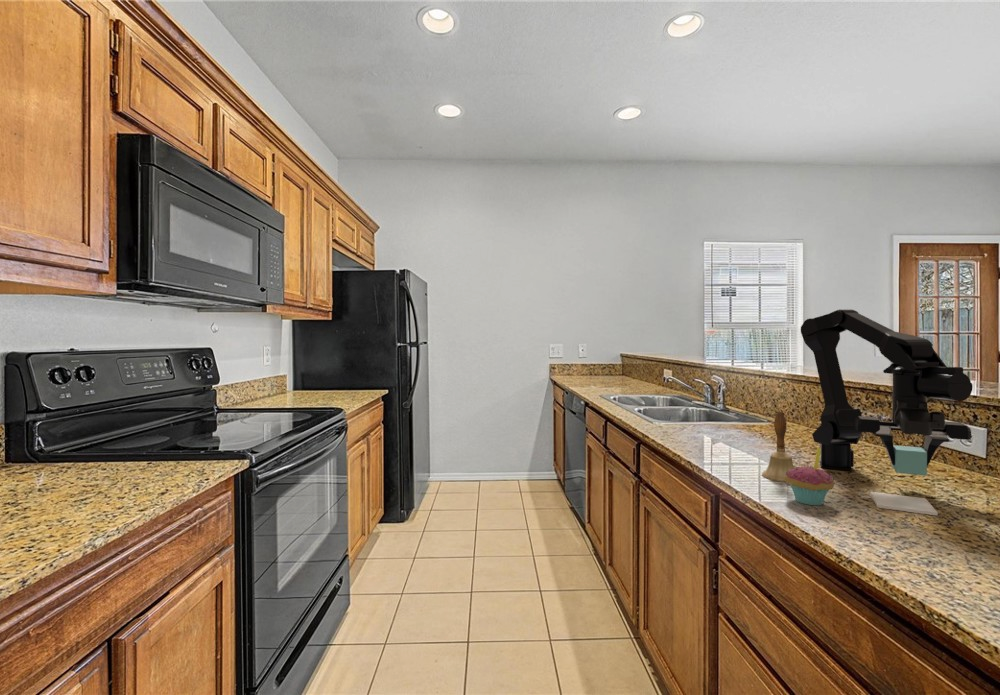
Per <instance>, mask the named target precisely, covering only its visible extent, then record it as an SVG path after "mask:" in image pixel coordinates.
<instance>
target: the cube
mask: <svg viewBox="0 0 1000 695" xmlns="http://www.w3.org/2000/svg"><path fill="white" fill-rule="evenodd" d="M893 447H894V454H895V465H892V464H891V467H892V469H893V470H894V471H895V472H896V473H897V474H907V475H914V476H915V475H916V476H926V477H927V475H928V467H927V452H926V451H925V450H924V448H923V447H921V446H920V447H917V446H907V445H906V446H905V445H895V444H893Z"/></svg>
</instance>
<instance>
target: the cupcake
mask: <svg viewBox="0 0 1000 695" xmlns="http://www.w3.org/2000/svg"><path fill="white" fill-rule="evenodd" d="M820 459H821V443H819V446H818V447H817V449H816V455H815V459H814V464H813V466H809V465H808V466H798V467H797V466H796V467H794V468H793V469H790V470H789V471H787V472H786V475H785V478H784V480H785V482H784V483H787V484H789V486H790V488H791V490H792V492H793V496H794V499H795V501H797V502H798V503H801V504H804V505H810V506H821V505H823V504H824V501H825V499H826V496H827V495H828V492H829V490H833V489H834V487H835V482H834V478H833V476H832V475H831V474H829V473H828V472H827V471H824V470H822V469H820V468H818V467H819V464H820Z"/></svg>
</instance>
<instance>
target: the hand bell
mask: <svg viewBox="0 0 1000 695" xmlns="http://www.w3.org/2000/svg"><path fill="white" fill-rule="evenodd" d="M773 426H774V432H775V435H776V452H772V453H771V454H770V455H769V456H770V458H769V463H768V466H767V467H766V469H765V470H764V471H763V472H762V473H761V476H762V477H763V478H765V479H768V480H770V481H775V482H776V481H777V482H783V483H786V482H785V480H784V478H785V475H786V472H787V471H789V470H790V469H793V468H795V466H794V463H793V457H792V455H790V453H789V454H788V453H787V452H786V447H785V437H786V436H785V435H786V432H787V419H786V416H785V414H784V411H781V410H780V411H778V410H777V412H776V414H775V418H774V421H773Z"/></svg>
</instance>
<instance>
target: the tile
mask: <svg viewBox="0 0 1000 695" xmlns="http://www.w3.org/2000/svg"><path fill="white" fill-rule="evenodd" d="M869 493H870V494H869V495H870V497H871V499H872V500H873V502H874V504H875V506H876V508H878V509H885V510H887V509H888V510H894V511H901V512H909V513H916V514H923V515H931V516H939V515H938V511H937V510H936V509H935V508H934V507H933V505H932V504H931V503H930V502H929V501H928V500H927V498H923V497H916V496H907V495H899V494H893V493H883V492H875V491H870V492H869Z"/></svg>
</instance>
